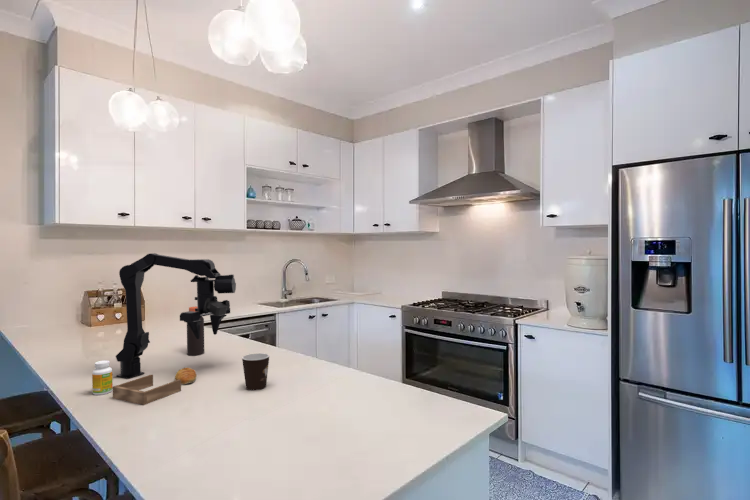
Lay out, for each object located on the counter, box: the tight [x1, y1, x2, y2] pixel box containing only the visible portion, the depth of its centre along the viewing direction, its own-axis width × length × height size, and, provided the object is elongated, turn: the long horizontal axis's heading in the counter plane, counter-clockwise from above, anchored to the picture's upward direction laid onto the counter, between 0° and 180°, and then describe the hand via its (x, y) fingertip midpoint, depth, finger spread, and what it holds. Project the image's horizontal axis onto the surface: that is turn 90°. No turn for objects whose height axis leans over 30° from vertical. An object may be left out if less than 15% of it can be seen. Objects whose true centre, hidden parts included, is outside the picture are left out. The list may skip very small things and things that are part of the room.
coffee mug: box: [241, 352, 270, 391], centre depth 139 cm, size 12×9×10 cm
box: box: [112, 374, 182, 406], centre depth 132 cm, size 14×13×4 cm
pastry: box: [174, 367, 198, 385], centre depth 144 cm, size 9×7×4 cm
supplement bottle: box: [91, 360, 114, 396], centre depth 134 cm, size 5×5×10 cm
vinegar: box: [186, 306, 205, 357], centre depth 180 cm, size 7×7×20 cm
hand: (206, 336), depth 153 cm, fingers open, 8 cm apart
